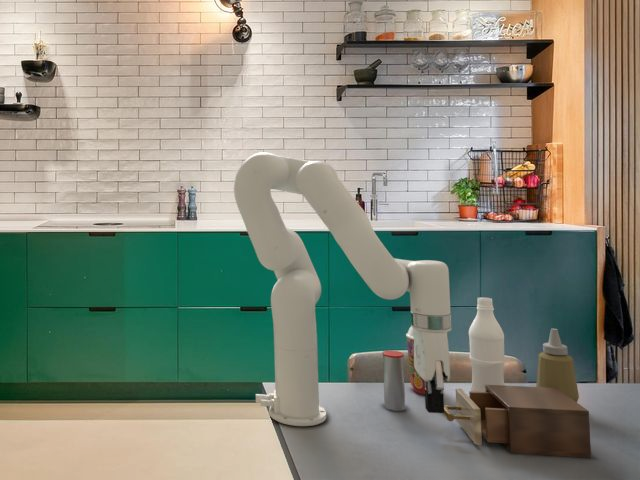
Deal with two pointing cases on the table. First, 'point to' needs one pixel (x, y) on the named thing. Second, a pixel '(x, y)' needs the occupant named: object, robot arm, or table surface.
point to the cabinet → (544, 421)
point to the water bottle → (486, 348)
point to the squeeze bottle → (557, 367)
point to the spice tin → (394, 380)
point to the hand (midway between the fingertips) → (434, 411)
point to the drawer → (480, 416)
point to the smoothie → (415, 377)
